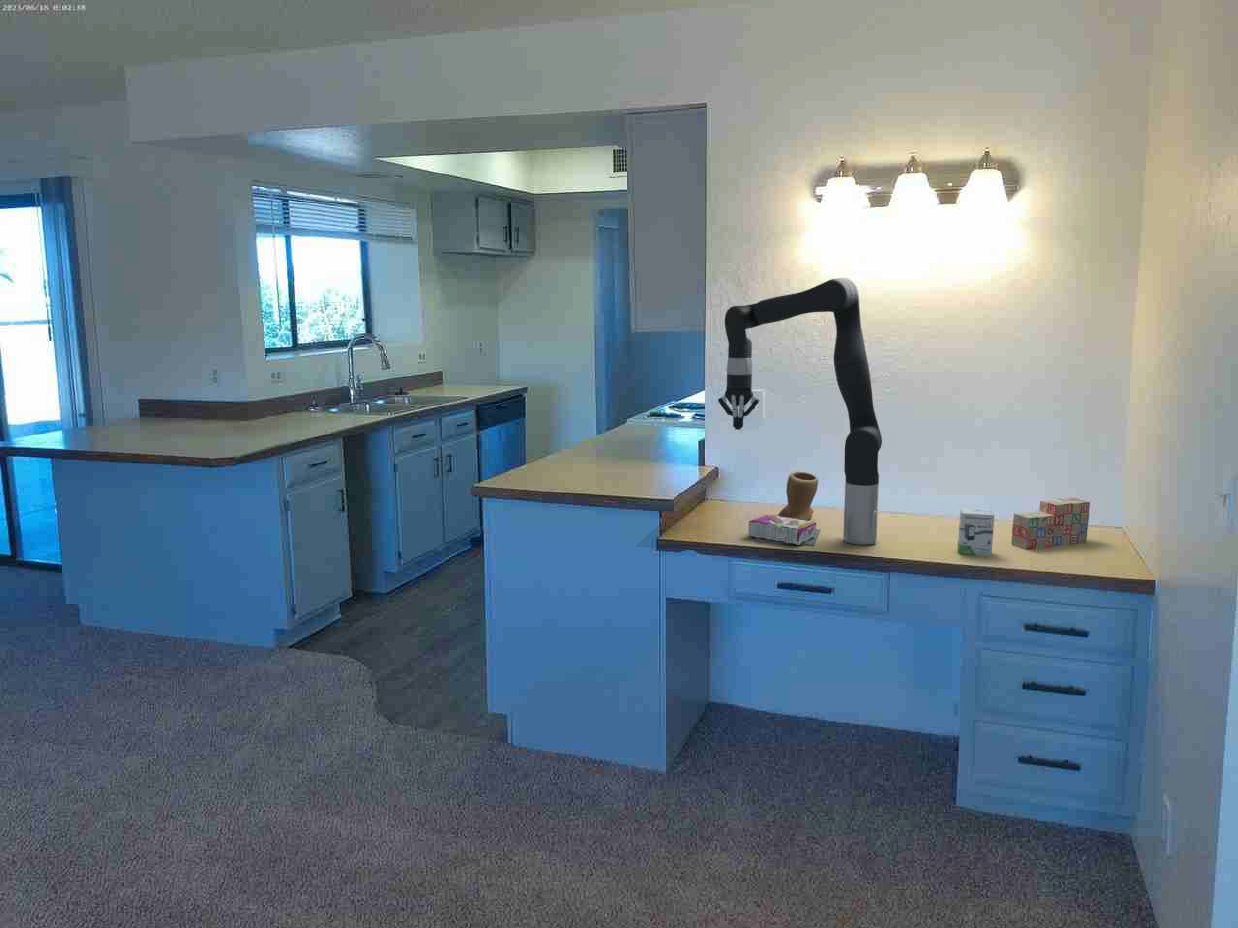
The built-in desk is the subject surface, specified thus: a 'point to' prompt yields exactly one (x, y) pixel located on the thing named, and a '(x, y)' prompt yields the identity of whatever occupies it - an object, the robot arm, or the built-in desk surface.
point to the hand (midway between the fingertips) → (737, 429)
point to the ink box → (976, 532)
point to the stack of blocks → (1052, 524)
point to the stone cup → (800, 495)
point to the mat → (808, 543)
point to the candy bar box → (782, 529)
